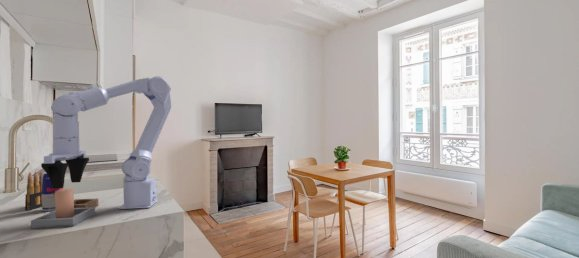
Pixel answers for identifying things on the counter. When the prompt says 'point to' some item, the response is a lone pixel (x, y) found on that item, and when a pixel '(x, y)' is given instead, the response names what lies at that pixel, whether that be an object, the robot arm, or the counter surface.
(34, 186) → the ammunition clip
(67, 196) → the dowel
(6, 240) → the counter surface
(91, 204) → the frame
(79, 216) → the tray
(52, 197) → the energy drink
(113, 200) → the counter surface
